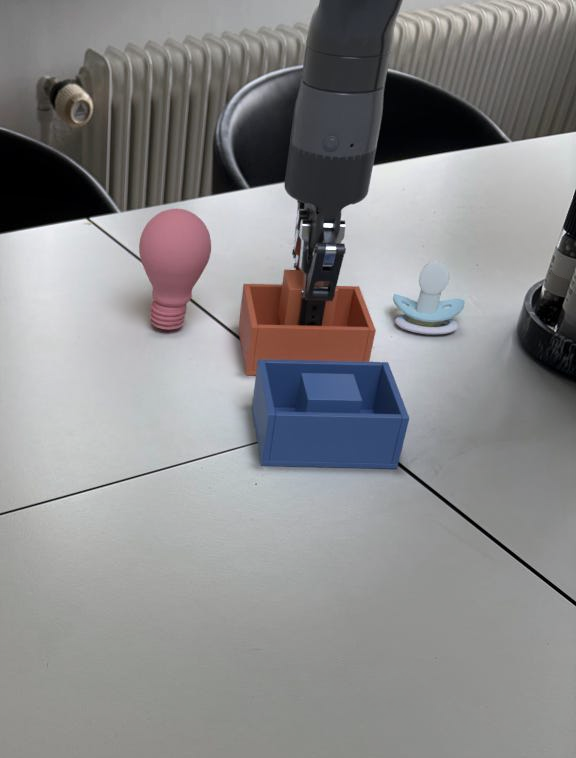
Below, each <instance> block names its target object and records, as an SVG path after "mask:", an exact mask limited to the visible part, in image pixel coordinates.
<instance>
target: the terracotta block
mask: <svg viewBox="0 0 576 758" xmlns="http://www.w3.org/2000/svg"><path fill="white" fill-rule="evenodd" d="M303 276H304V274H303V272H302V271H300V270H294V269H284V270H283V276H282V282H281V285H282V289H281V297H280V304H279V311H278V315H279V320H280V324H281V325H298V319H299V312H300V306H301V300H302V295H301V290H302V286H303ZM323 284H324V282H323V281H318V282H316V283H315V286H323ZM337 286H338V285H336V289H335V296H334V297H333V301H326V304H325V309H324V315H323V321H322V326H332V323H333V317H334V312H335V306H336V300H337V295H338V289H337Z"/></svg>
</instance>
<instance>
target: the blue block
mask: <svg viewBox="0 0 576 758" xmlns="http://www.w3.org/2000/svg"><path fill="white" fill-rule="evenodd" d="M361 404H362V398H361V395H360V392H359V389H358V386H357V383H356V380H355V377H354V374H326V373H301V378H300V384H299V391H298V397H297V403H296V409H295V412H317V413H360V409H361Z"/></svg>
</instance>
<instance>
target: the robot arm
mask: <svg viewBox="0 0 576 758" xmlns="http://www.w3.org/2000/svg"><path fill="white" fill-rule="evenodd" d="M403 1H404V0H319V1H318V5H317V7H316V8H315V9H314V11H313V13H312V15H311V17H310V22H309V26H308V28H307V29H308V30H307V34H306V35H307V36H306V41H305V48H304V49H305V50H304V57H303V64H302V72H301V79H300V84H299V90H298V93H297V97H296V100H295V105H294V110H293V117H292V124H291V130H290V131H291V132H290V139H289V147H288V154H287V162H286V168H285V178H284V183H283V186H284V190H285V192H286V193H287V195H288V196H290V198H291V199H294V200H295V201H296V203H297V209H296V217H295V230H294V238H293V239H294V240H293V249H292V251H291V254H292V258H293V259H294V262H293V264H292V267H293V270H300V271H302V272H303V274H304V276H303V286H302V290H301V295H302V300H301V306H300V312H299V319H298V325H299V326H322V321H323V315H324V309H325V304H326V301H333V297H334V296H335V289H336V286H338V281H339V277H340V273H341V269H342V264H343V261H344V256H345V255H346V251H347V250H346V244H345V243H342V242H343V240H344V239H345V234H346V233H345V232H346V220H344V219H343V220H342V210H343V209H344V208H347V207H348V206H350V205H356V204H358V203H361V202H362V201H363V200H364V199H365V198H366V197H367V196H368V193H369V189H370V183H371V179H372V173H373V169H374V163H375V157H376V153H377V146H378V141H379V136H380V131H381V126H382V125H381V124H382V120H383V111H384V98H385V97H384V96H385V95H384V93H385V89H386V88H385V87H386V83H387V76H388V71H389V65H390V61H391V55H392V48H393V42H394V34H395V26H396V22H397V18H398V15H399V13H400V10H401V7H402V4H403ZM318 281H323V282H324V284H323V286H315V283H316V282H318Z"/></svg>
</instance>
